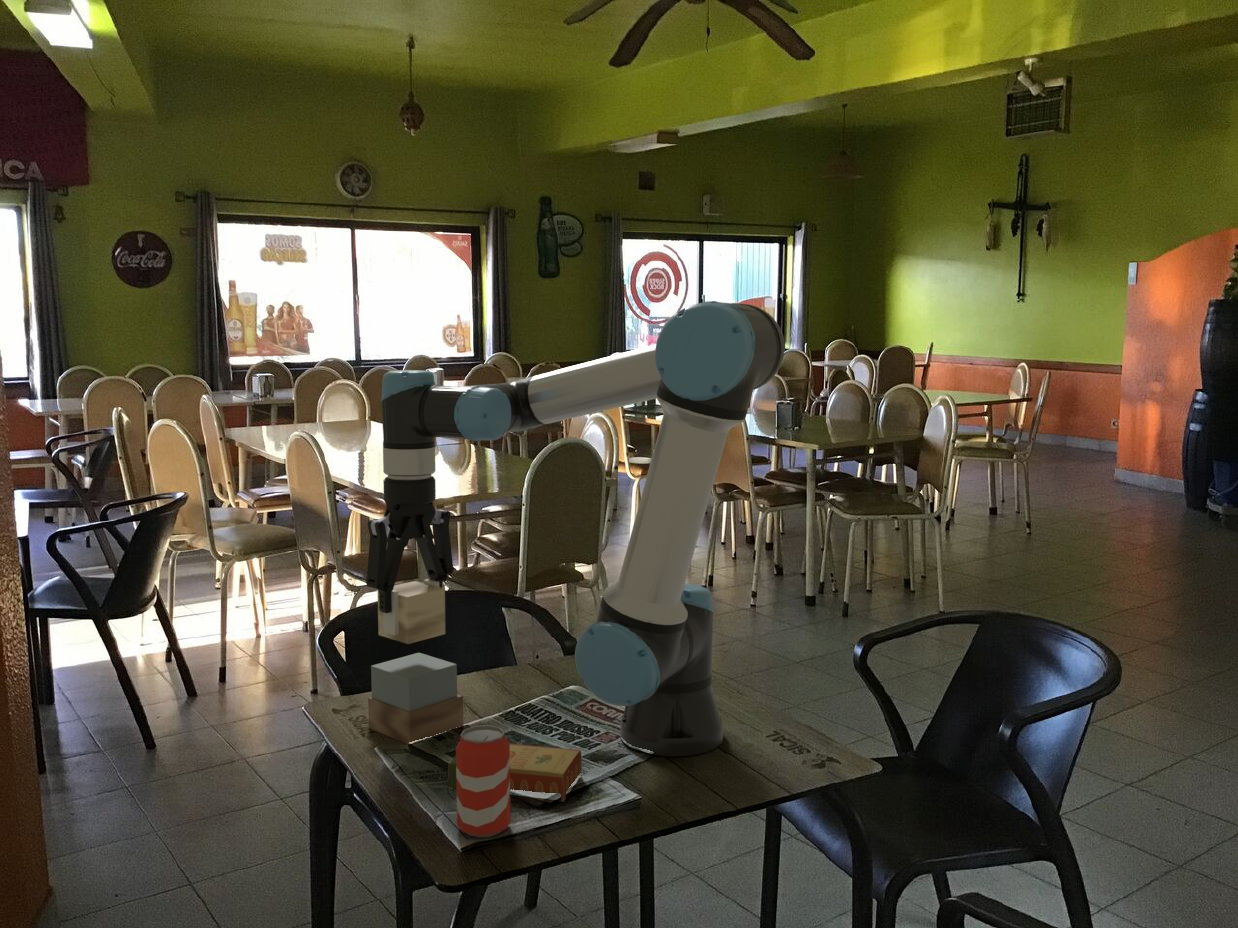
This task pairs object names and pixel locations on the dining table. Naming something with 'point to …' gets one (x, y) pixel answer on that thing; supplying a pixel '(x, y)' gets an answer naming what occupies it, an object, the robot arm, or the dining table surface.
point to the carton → (537, 769)
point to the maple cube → (417, 612)
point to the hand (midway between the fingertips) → (412, 627)
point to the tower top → (414, 681)
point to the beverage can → (483, 781)
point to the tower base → (415, 719)
